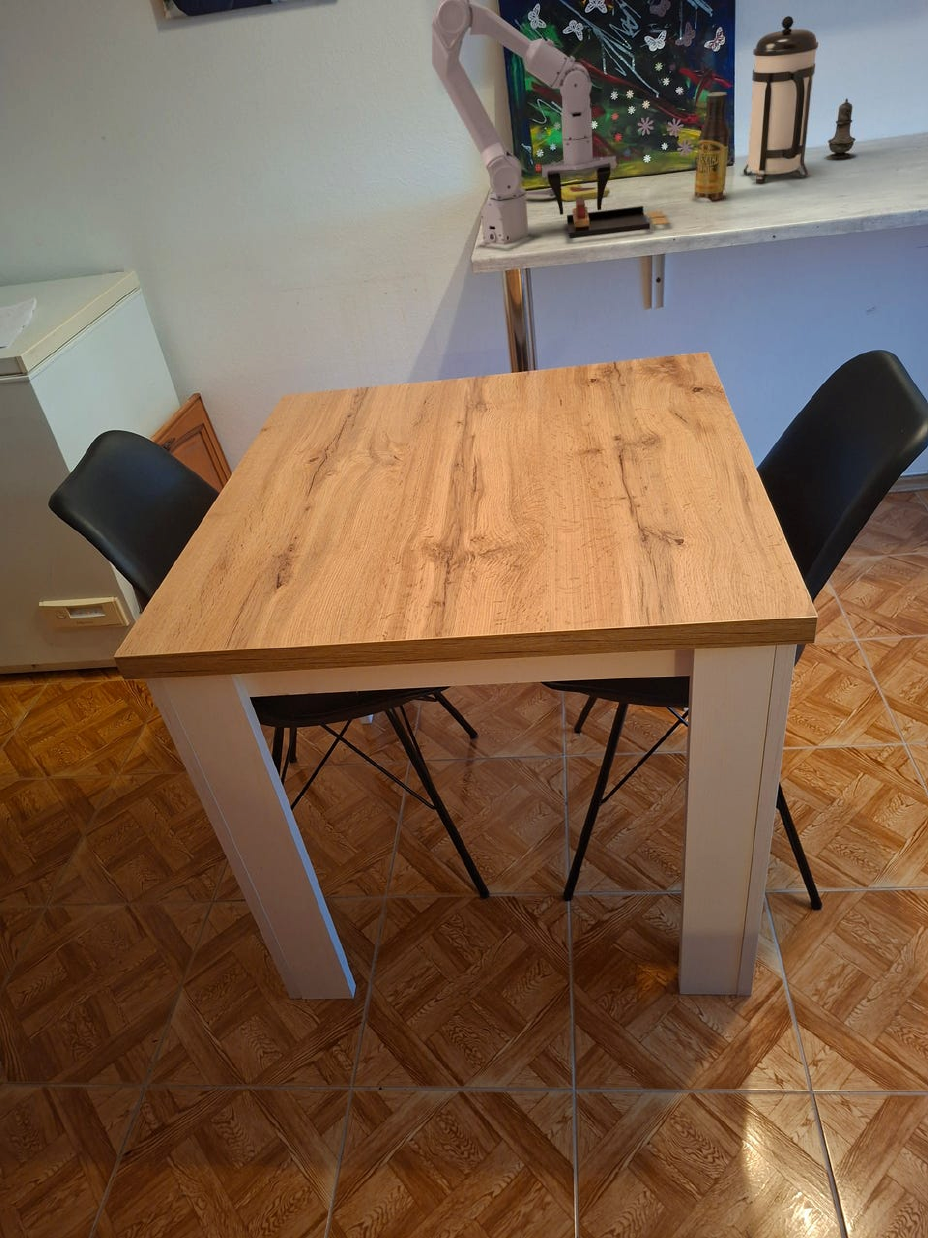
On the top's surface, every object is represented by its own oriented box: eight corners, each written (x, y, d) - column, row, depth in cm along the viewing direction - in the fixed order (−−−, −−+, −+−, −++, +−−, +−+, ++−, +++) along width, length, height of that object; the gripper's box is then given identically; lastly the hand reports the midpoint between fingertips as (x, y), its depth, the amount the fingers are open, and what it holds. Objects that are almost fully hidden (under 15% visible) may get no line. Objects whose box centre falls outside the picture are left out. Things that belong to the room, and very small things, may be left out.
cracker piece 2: (653, 230, 176) (653, 223, 175) (651, 224, 179) (651, 218, 178) (668, 228, 175) (668, 222, 174) (666, 223, 178) (666, 216, 178)
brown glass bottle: (688, 201, 189) (692, 96, 177) (704, 193, 192) (708, 90, 180) (715, 203, 185) (721, 96, 173) (731, 195, 188) (737, 89, 176)
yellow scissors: (503, 204, 208) (603, 202, 197) (502, 192, 207) (602, 190, 196) (517, 195, 213) (614, 193, 203) (516, 183, 212) (614, 181, 201)
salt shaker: (828, 161, 201) (835, 101, 194) (824, 155, 205) (830, 97, 198) (855, 158, 200) (863, 98, 192) (850, 152, 204) (858, 94, 197)
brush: (575, 234, 177) (573, 207, 173) (572, 221, 185) (571, 194, 182) (589, 233, 176) (588, 205, 173) (587, 219, 184) (586, 193, 181)
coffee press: (724, 182, 198) (732, 24, 179) (764, 165, 205) (775, 12, 187) (793, 188, 187) (809, 20, 168) (833, 170, 194) (852, 7, 176)
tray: (569, 243, 176) (569, 232, 175) (567, 224, 187) (566, 214, 186) (650, 233, 174) (650, 223, 173) (642, 215, 185) (642, 205, 184)
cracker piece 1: (649, 223, 180) (649, 217, 179) (647, 218, 183) (647, 212, 182) (664, 221, 179) (664, 215, 179) (662, 216, 183) (662, 210, 182)
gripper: (540, 145, 168) (545, 220, 176) (616, 135, 166) (617, 211, 175) (540, 138, 174) (544, 211, 182) (613, 128, 172) (614, 202, 180)
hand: (580, 210), depth 179 cm, fingers open, 7 cm apart
